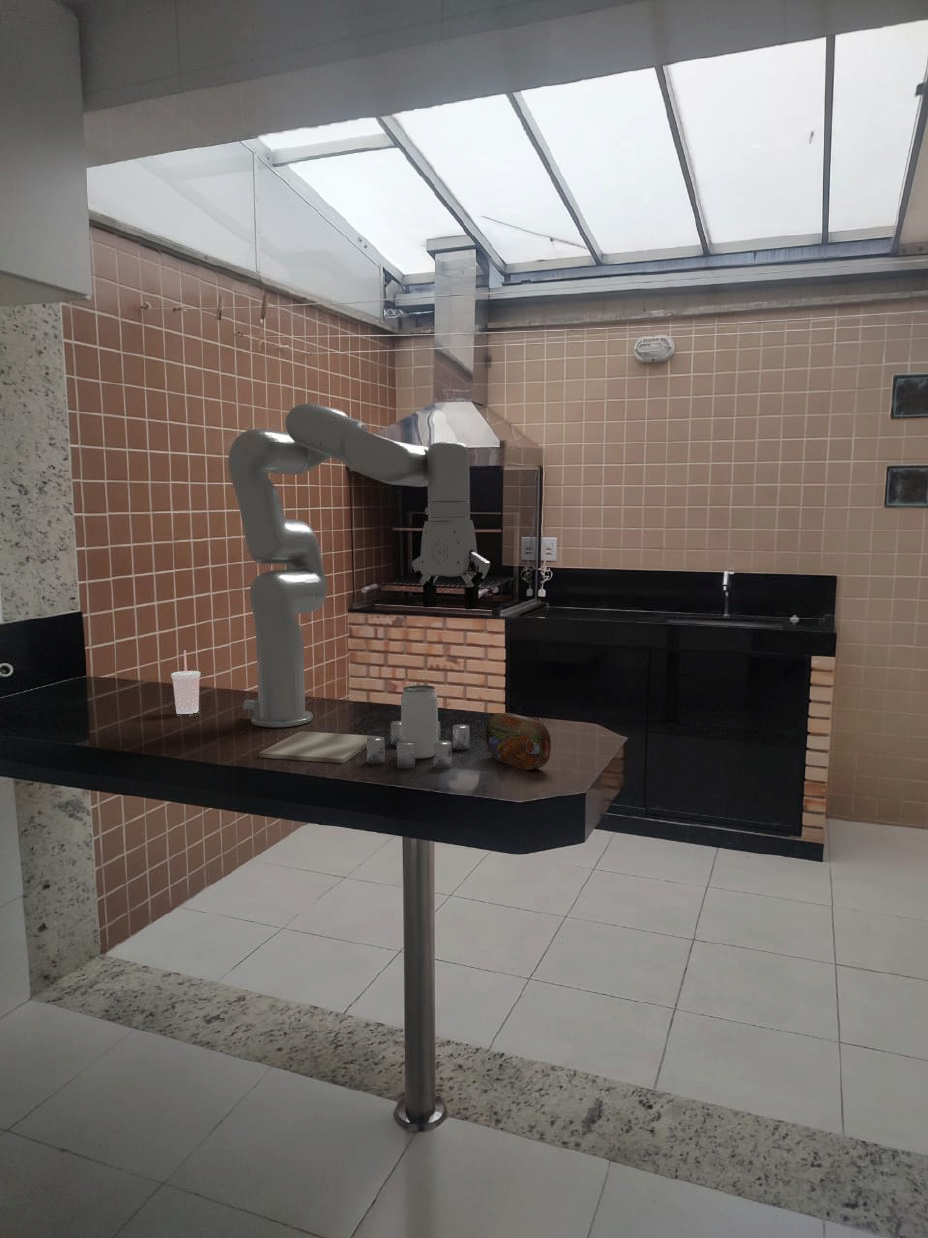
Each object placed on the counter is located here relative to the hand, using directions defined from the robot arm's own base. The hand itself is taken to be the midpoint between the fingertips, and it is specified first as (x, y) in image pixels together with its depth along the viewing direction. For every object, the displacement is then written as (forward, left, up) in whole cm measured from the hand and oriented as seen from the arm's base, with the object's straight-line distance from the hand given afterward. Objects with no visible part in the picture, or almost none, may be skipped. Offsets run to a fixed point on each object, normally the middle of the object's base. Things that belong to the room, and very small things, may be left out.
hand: (450, 607), depth 147 cm
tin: (+14, -8, -26) cm, 31 cm away
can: (-4, -7, -26) cm, 27 cm away
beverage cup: (-64, +13, -26) cm, 70 cm away
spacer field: (-4, -7, -26) cm, 27 cm away
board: (-23, -7, -26) cm, 35 cm away
